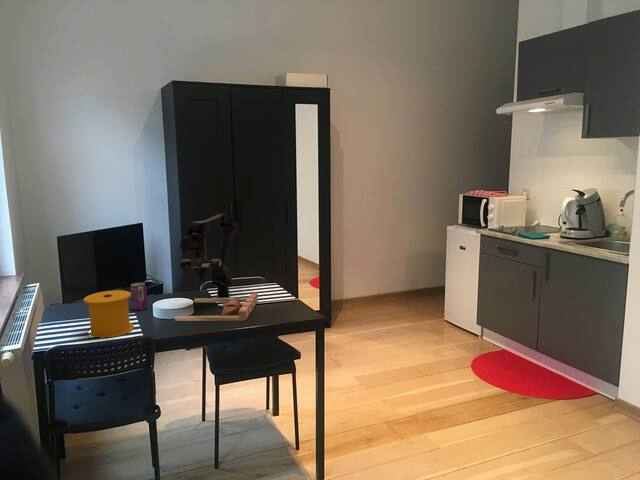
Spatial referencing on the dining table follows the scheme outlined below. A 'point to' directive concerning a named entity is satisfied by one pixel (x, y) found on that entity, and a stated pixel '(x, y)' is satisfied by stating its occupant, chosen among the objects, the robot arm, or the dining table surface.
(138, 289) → the beverage can
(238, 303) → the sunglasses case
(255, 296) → the guide channel
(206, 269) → the robot arm
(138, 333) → the dining table surface
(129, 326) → the spool
